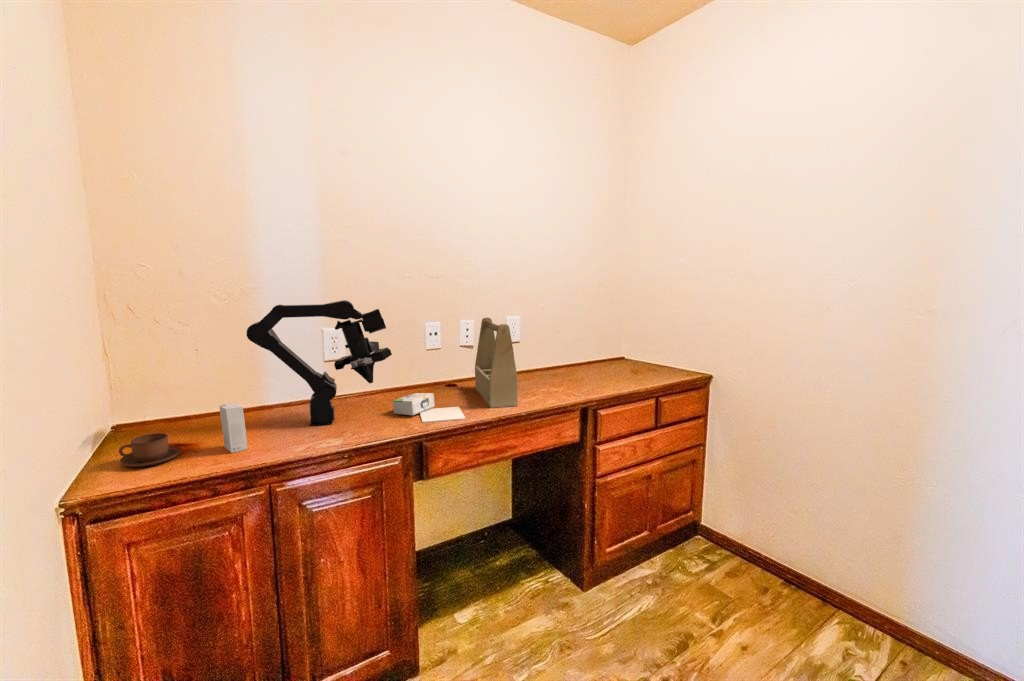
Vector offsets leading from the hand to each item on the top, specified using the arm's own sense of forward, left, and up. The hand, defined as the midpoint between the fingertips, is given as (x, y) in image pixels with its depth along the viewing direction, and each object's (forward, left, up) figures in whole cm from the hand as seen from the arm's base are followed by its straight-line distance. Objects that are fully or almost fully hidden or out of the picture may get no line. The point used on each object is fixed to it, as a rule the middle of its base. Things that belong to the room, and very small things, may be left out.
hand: (371, 382), depth 152 cm
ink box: (+10, -1, -9) cm, 13 cm away
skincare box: (-36, -19, -12) cm, 42 cm away
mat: (+22, -3, -12) cm, 25 cm away
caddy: (+45, +15, -12) cm, 49 cm away
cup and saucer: (-54, -23, -12) cm, 59 cm away
